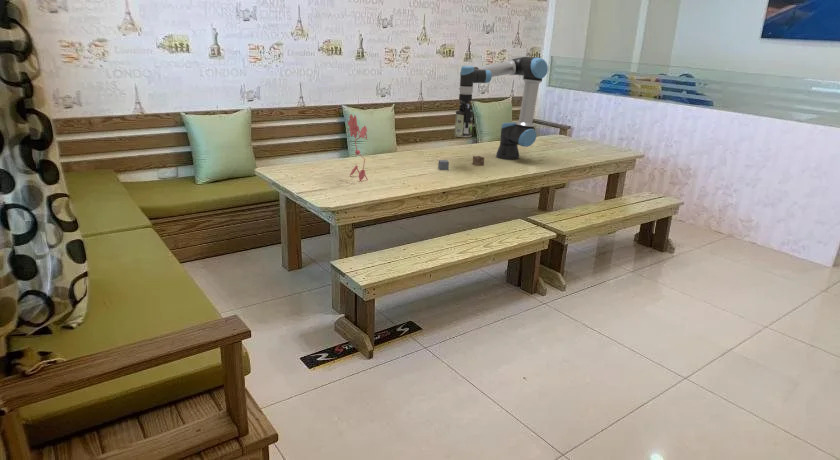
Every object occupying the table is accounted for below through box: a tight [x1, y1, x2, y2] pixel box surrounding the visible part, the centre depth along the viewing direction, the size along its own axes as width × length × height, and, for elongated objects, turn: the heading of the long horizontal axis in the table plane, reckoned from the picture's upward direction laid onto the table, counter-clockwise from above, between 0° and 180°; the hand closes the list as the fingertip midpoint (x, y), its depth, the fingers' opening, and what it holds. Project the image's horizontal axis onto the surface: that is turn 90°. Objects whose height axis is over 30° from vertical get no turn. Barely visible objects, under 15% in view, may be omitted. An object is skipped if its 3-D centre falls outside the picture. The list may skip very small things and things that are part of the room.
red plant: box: [341, 113, 369, 185], centre depth 289 cm, size 15×26×35 cm, turn 29°
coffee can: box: [454, 110, 474, 138], centre depth 322 cm, size 10×10×14 cm
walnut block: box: [472, 155, 485, 167], centre depth 339 cm, size 5×5×5 cm
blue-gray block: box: [437, 159, 450, 171], centre depth 324 cm, size 5×5×5 cm
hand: (463, 131), depth 324 cm, fingers closed on coffee can, 10 cm apart
